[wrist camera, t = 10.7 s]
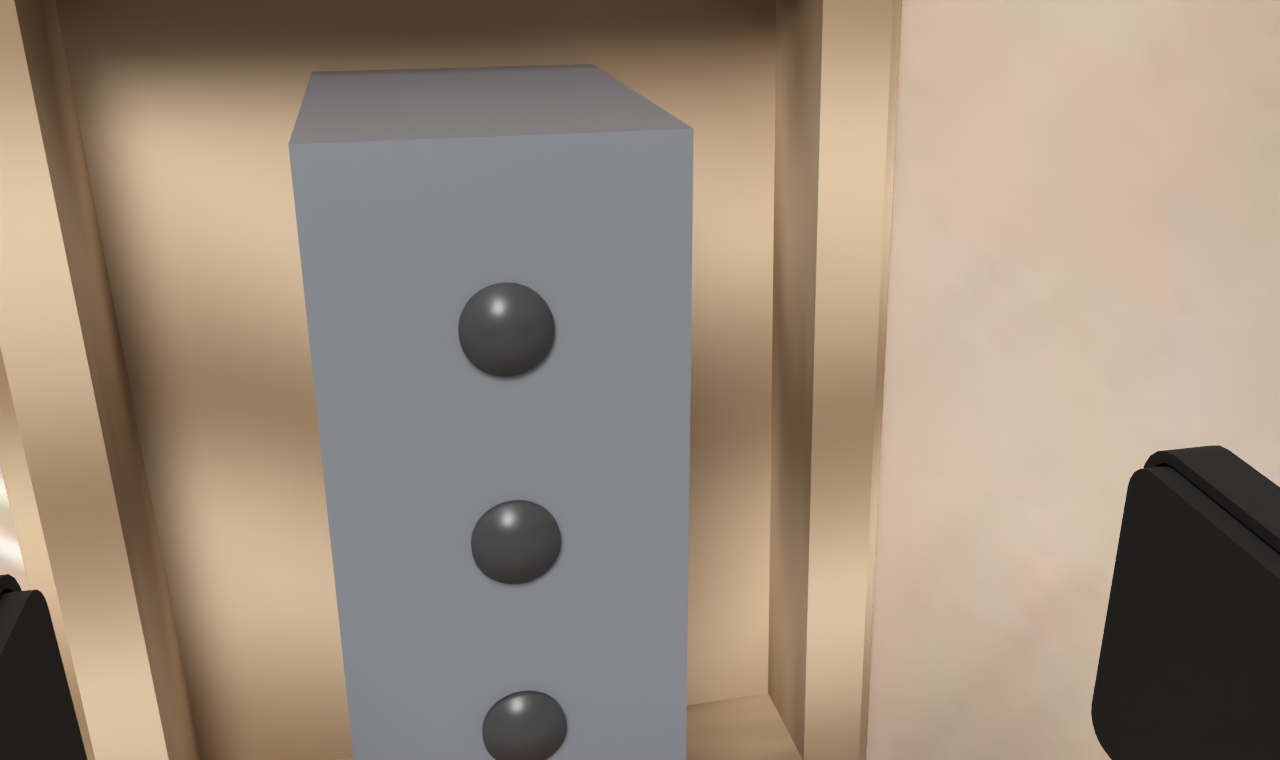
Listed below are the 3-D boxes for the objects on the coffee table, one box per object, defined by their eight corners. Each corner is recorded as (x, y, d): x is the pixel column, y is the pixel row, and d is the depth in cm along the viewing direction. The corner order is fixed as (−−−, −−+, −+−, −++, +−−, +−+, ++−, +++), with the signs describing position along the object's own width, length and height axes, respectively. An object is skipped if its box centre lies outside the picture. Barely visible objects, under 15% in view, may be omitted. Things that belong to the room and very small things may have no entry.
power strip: (312, 71, 17) (286, 150, 11) (591, 63, 18) (701, 133, 12) (370, 674, 21) (374, 966, 15) (601, 646, 21) (690, 913, 16)
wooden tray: (-136, -225, 16) (-242, -256, 13) (885, -233, 18) (978, -260, 16) (118, 873, 22) (84, 1009, 19) (846, 752, 25) (906, 857, 22)
